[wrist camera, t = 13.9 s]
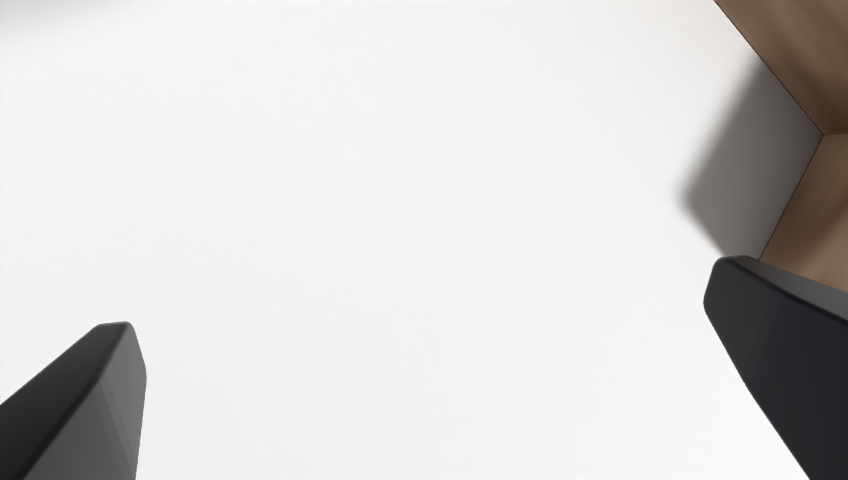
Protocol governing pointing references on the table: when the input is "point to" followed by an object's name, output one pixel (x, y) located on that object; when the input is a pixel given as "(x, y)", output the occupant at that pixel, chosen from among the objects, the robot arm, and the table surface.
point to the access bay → (829, 110)
